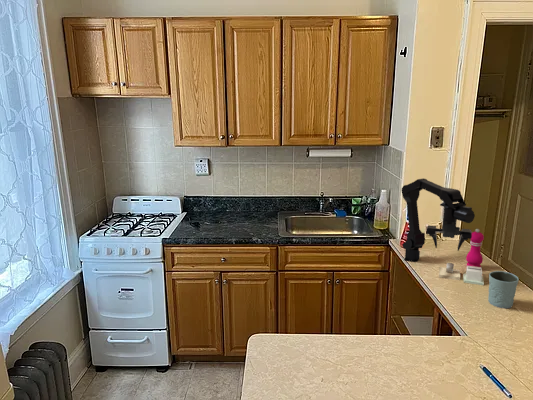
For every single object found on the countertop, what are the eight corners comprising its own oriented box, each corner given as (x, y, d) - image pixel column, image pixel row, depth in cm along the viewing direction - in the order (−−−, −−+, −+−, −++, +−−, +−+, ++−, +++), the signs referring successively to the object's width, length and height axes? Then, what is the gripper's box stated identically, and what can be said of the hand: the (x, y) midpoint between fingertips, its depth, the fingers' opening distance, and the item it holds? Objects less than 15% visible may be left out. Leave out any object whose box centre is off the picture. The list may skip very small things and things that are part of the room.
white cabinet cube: (466, 279, 178) (467, 270, 176) (465, 274, 183) (466, 265, 182) (481, 282, 175) (482, 272, 174) (480, 276, 180) (481, 267, 179)
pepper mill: (483, 271, 188) (488, 231, 183) (467, 270, 189) (471, 231, 184) (479, 265, 195) (483, 226, 190) (463, 264, 196) (467, 226, 191)
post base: (438, 277, 183) (439, 266, 182) (439, 269, 191) (440, 259, 190) (459, 280, 179) (461, 269, 178) (459, 272, 187) (460, 261, 186)
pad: (463, 282, 177) (463, 280, 177) (463, 275, 184) (463, 273, 184) (483, 285, 174) (483, 283, 174) (482, 277, 181) (482, 276, 181)
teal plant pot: (513, 299, 161) (516, 273, 158) (516, 311, 152) (520, 283, 149) (485, 295, 165) (488, 269, 162) (486, 306, 157) (490, 279, 154)
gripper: (426, 220, 175) (424, 252, 179) (473, 224, 167) (470, 258, 171) (428, 213, 184) (425, 244, 188) (472, 217, 177) (469, 249, 181)
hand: (447, 249), depth 182 cm, fingers open, 9 cm apart
